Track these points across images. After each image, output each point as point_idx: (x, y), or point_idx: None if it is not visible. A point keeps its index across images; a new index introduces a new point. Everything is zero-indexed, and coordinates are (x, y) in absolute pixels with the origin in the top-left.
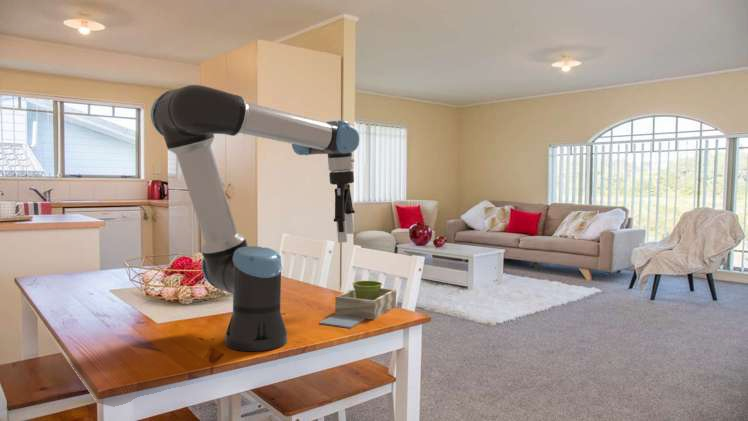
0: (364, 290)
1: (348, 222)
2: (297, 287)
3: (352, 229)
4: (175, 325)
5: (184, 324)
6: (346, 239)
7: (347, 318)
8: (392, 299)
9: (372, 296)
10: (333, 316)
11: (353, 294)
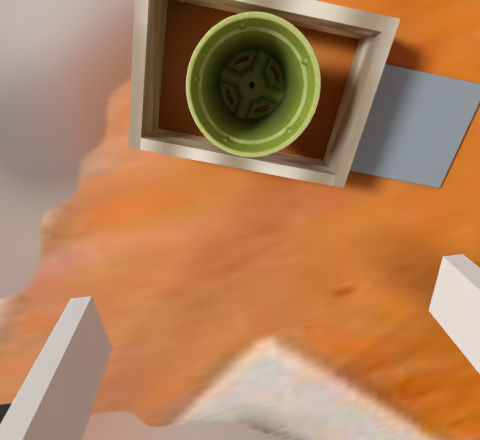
0: (310, 89)
1: (61, 428)
2: None
3: (79, 332)
4: (460, 423)
5: (453, 414)
6: (477, 270)
7: (387, 120)
8: None
9: (290, 55)
10: (368, 167)
11: (220, 149)
